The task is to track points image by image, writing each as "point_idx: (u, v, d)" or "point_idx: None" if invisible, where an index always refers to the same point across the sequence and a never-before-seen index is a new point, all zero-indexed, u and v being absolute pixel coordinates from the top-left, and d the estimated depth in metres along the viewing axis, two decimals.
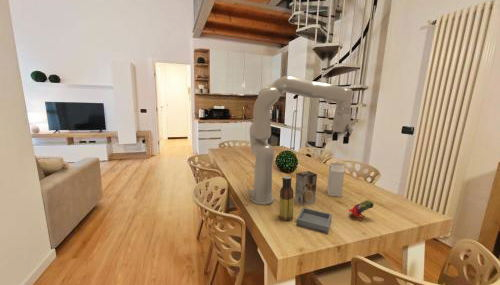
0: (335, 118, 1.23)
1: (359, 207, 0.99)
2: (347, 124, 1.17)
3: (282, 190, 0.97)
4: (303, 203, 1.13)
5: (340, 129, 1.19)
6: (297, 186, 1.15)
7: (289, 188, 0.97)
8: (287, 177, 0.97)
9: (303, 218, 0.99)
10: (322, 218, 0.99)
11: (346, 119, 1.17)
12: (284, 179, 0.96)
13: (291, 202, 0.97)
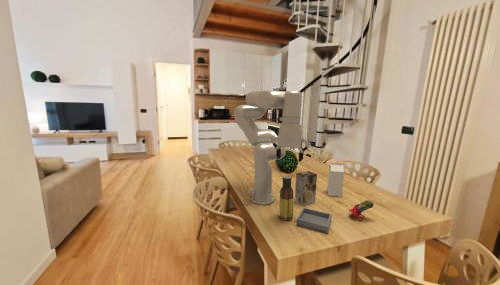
0: (283, 130, 0.92)
1: (359, 207, 1.00)
2: (302, 137, 0.92)
3: (282, 190, 0.97)
4: (303, 203, 1.13)
5: (295, 144, 0.91)
6: (297, 186, 1.15)
7: (289, 188, 0.97)
8: (287, 177, 0.97)
9: (303, 218, 0.99)
10: (322, 218, 0.99)
11: (301, 131, 0.91)
12: (284, 179, 0.96)
13: (291, 202, 0.97)
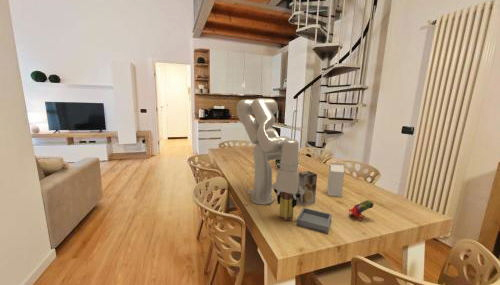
0: (281, 176, 0.96)
1: (359, 207, 1.00)
2: (298, 183, 0.95)
3: None
4: (303, 203, 1.13)
5: (292, 190, 0.94)
6: None
7: None
8: None
9: (303, 218, 0.99)
10: (322, 218, 0.99)
11: (298, 177, 0.94)
12: None
13: (291, 202, 0.97)
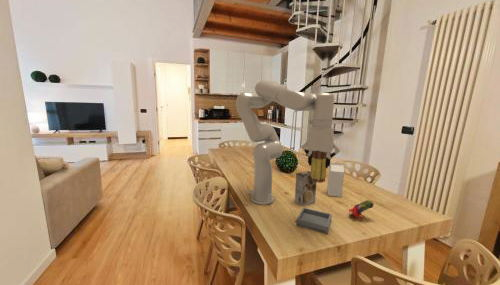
0: (314, 133, 0.89)
1: (359, 207, 1.00)
2: (333, 141, 0.88)
3: None
4: (303, 203, 1.13)
5: (326, 148, 0.87)
6: (297, 186, 1.15)
7: None
8: None
9: (303, 218, 0.99)
10: (322, 218, 0.99)
11: (333, 134, 0.87)
12: None
13: (325, 162, 0.90)
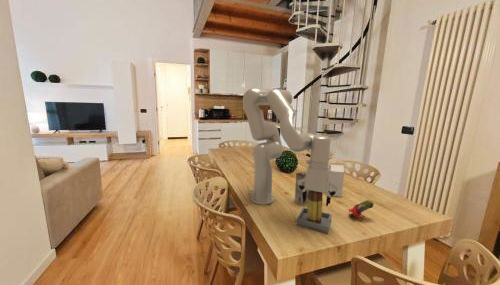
0: (311, 174, 0.92)
1: (359, 207, 0.99)
2: None
3: (311, 192, 0.94)
4: (303, 203, 1.13)
5: (323, 189, 0.90)
6: (297, 186, 1.15)
7: None
8: None
9: (303, 218, 0.99)
10: (322, 218, 0.99)
11: (329, 176, 0.90)
12: None
13: (320, 204, 0.93)
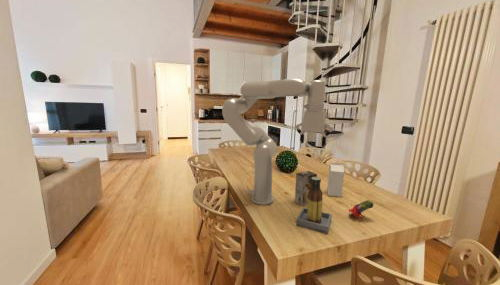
0: (308, 116, 1.00)
1: (359, 207, 0.99)
2: None
3: (311, 192, 0.94)
4: (303, 203, 1.13)
5: (319, 129, 0.99)
6: (297, 186, 1.15)
7: (318, 190, 0.93)
8: (316, 178, 0.93)
9: (303, 218, 0.99)
10: (322, 218, 0.99)
11: (324, 117, 0.99)
12: (313, 180, 0.92)
13: (320, 204, 0.93)
